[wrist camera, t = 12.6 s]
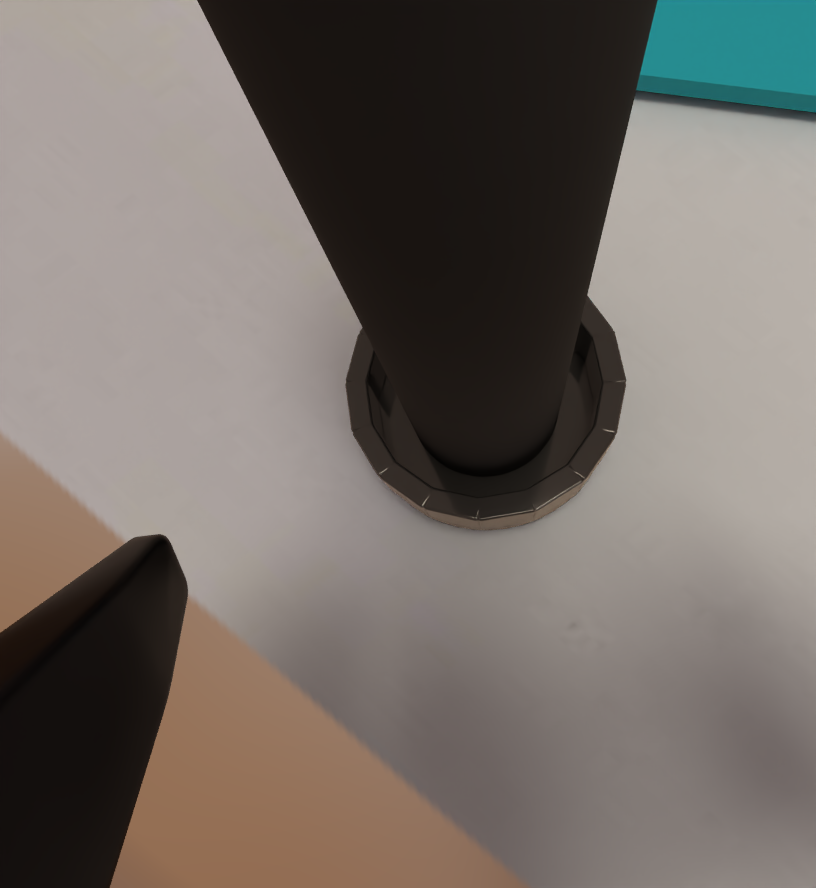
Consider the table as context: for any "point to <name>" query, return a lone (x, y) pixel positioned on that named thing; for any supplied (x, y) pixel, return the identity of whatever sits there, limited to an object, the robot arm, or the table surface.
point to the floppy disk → (734, 52)
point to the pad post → (452, 186)
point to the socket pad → (507, 495)
